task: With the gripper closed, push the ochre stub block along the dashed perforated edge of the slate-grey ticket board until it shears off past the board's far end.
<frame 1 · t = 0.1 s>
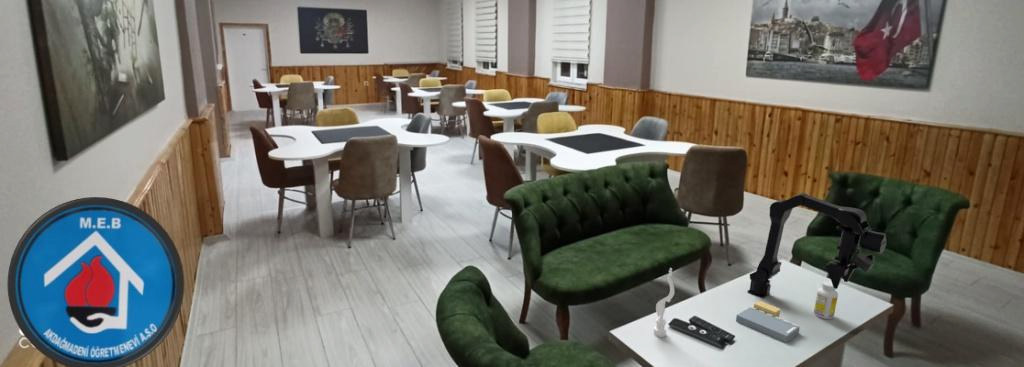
hand: (840, 285, 200), 15 cm above the table, tool pointing down, fingers open, 9 cm apart
supplement bottle: (823, 315, 209), on the table
decorative finial: (660, 334, 191), on the table
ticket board: (766, 326, 199), on the table
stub: (766, 311, 206), point 2 cm above the table, slide at 0.0 cm
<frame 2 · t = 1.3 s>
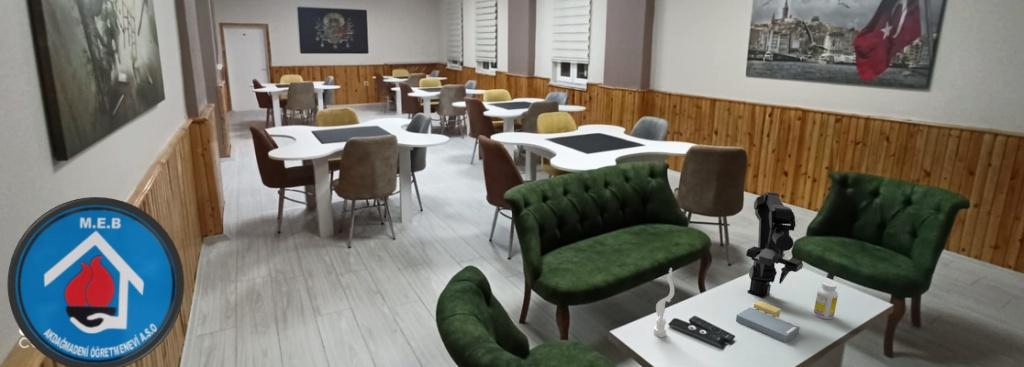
hand: (770, 279, 209), 12 cm above the table, tool pointing down, fingers open, 7 cm apart
nothing on the table moved.
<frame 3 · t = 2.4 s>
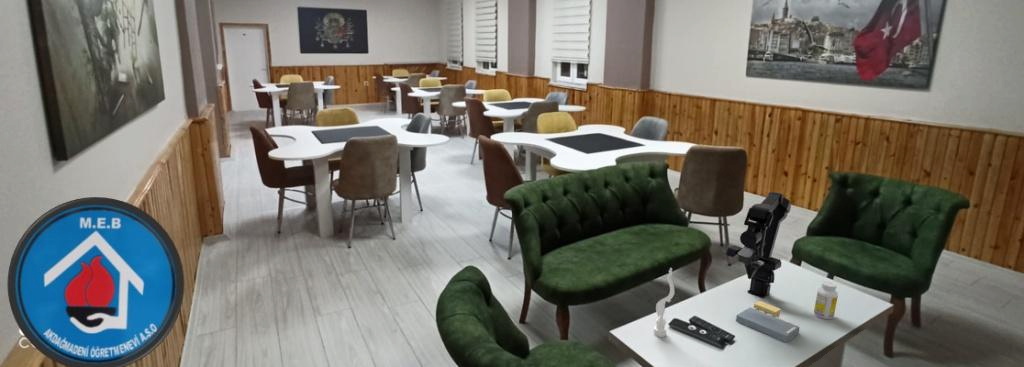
hand: (749, 278, 209), 12 cm above the table, tool pointing down, fingers closed
nothing on the table moved.
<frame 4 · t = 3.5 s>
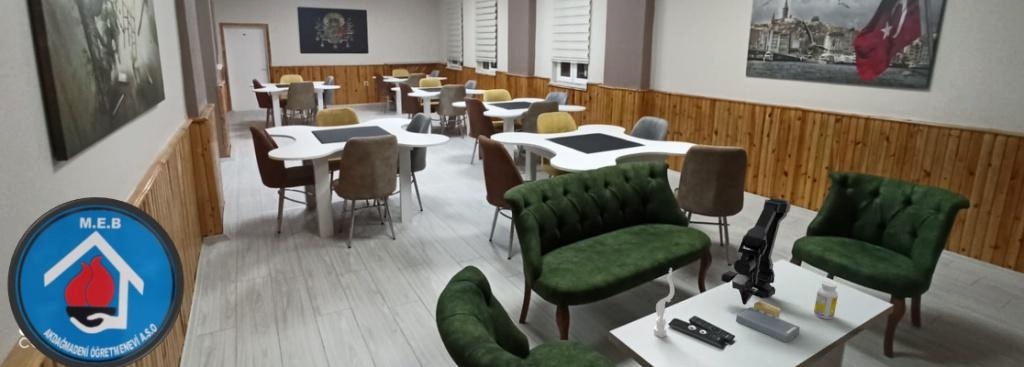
hand: (744, 304, 212), 1 cm above the table, tool pointing down, fingers closed
nothing on the table moved.
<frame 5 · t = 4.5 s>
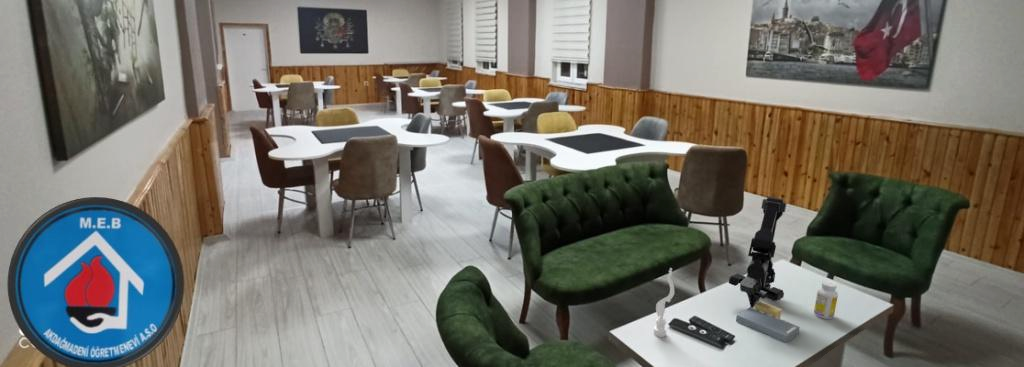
hand: (752, 307, 210), 1 cm above the table, tool pointing down, fingers closed
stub: (767, 311, 206), point 2 cm above the table, slide at 0.4 cm, touching gripper
everything else where it was.
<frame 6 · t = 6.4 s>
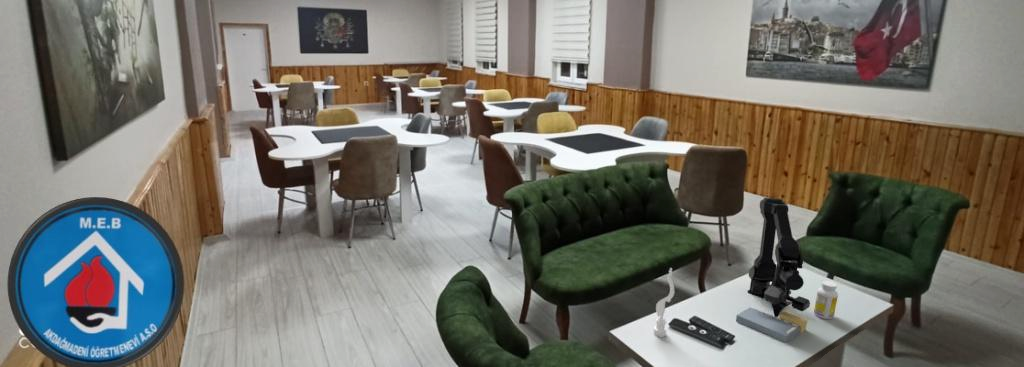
hand: (776, 317, 203), 1 cm above the table, tool pointing down, fingers closed
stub: (792, 321, 199), point 2 cm above the table, slide at 9.5 cm, touching gripper
everything else where it was.
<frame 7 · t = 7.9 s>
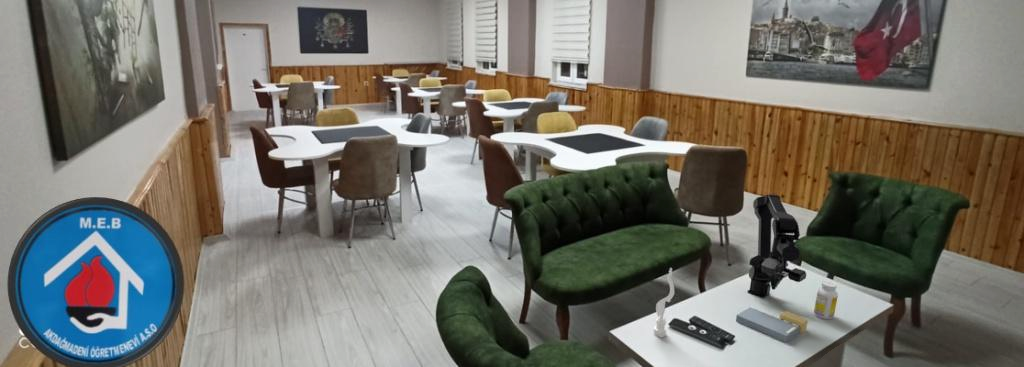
hand: (773, 289, 207), 9 cm above the table, tool pointing down, fingers closed
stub: (793, 321, 199), point 2 cm above the table, slide at 9.7 cm
everything else where it was.
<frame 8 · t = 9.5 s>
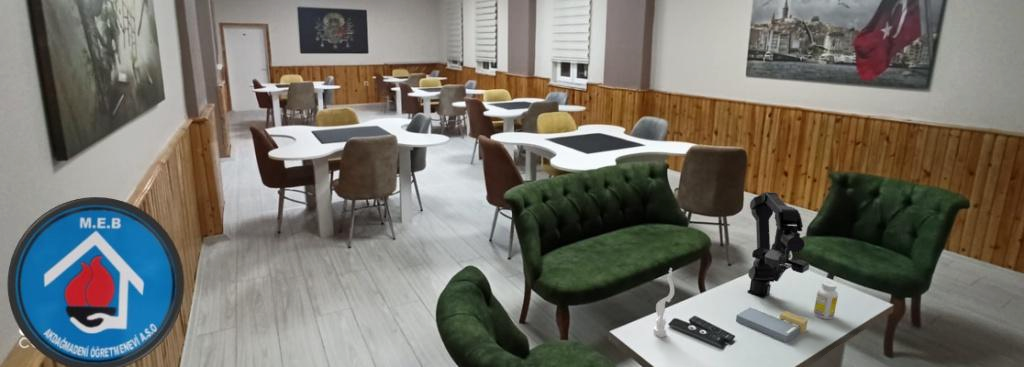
hand: (776, 281, 208), 12 cm above the table, tool pointing down, fingers closed
nothing on the table moved.
at the end: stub slide at 9.7 cm; the gripper is holding nothing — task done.
